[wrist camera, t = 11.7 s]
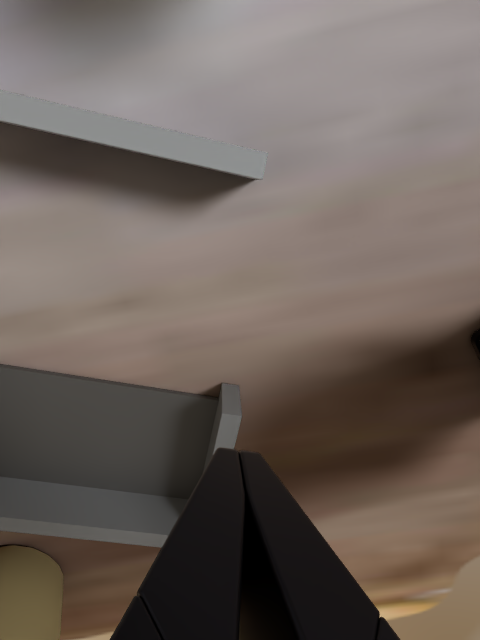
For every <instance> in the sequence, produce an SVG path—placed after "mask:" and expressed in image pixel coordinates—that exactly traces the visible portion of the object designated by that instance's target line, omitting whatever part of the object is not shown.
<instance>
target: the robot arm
mask: <svg viewBox="0 0 480 640" xmlns="http://www.w3.org/2000/svg"><path fill="white" fill-rule="evenodd" d="M471 342H472V345H473V347H474V349H475V351H476V353H477V355H478V358H479V360H480V329H479V330H477V331H476V332H475V333H473V335H472V337H471ZM379 616H380V614H379V611H378V610H377V608H376V607H375V606H374V604H373V603H372V602H371V600H370V599H369V598H368V596H367V595H366V594H365V592H364V591H363V590H362V588H361V587H360V586H359V584H358V583H357V582H356V580H355V579H354V578H353V576H352V575H351V574H350V572H349V571H348V570H347V568H346V567H345V566H344V564H343V563H342V562H341V560H340V559H339V558H338V556H337V555H336V554H335V552H334V551H333V550H332V548H331V547H330V546H329V544H328V543H327V542H326V540H325V539H324V538H323V536H322V535H321V534H320V532H319V531H318V530H317V528H316V527H315V526H314V524H313V523H312V522H311V520H310V519H309V518H308V516H307V515H306V514H305V512H304V511H303V510H302V509H301V507H300V506H299V505H298V503H297V502H296V501H295V499H294V498H293V497H292V495H291V494H290V493H289V491H288V490H287V489H286V487H285V486H284V485H283V483H282V482H281V481H280V479H279V478H278V477H277V475H276V474H275V473H274V471H273V470H272V469H271V467H270V466H269V465H268V463H267V462H266V461H265V459H264V458H263V457H262V455H261V454H260V453H258V452H252V451H245V450H241V451H239V452H238V451H237V450H236V449H230V448H223V447H219V448H217V449H216V451H215V452H214V454H213V456H212V458H211V460H210V462H209V463H208V465H207V467H206V469H205V471H204V472H203V474H202V476H201V478H200V480H199V481H198V483H197V485H196V487H195V489H194V490H193V492H192V494H191V496H190V498H189V499H188V501H187V503H186V505H185V507H184V508H183V510H182V512H181V514H180V516H179V517H178V519H177V521H176V523H175V525H174V526H173V528H172V530H171V532H170V534H169V535H168V537H167V539H166V541H165V543H164V545H163V546H162V548H161V550H160V552H159V554H158V555H157V557H156V559H155V561H154V563H153V564H152V566H151V568H150V570H149V572H148V573H147V575H146V577H145V579H144V581H143V582H142V584H141V586H140V588H139V590H138V592H137V596H135V597H134V598H133V600H132V602H131V603H130V605H129V607H128V609H127V611H126V612H125V614H124V616H123V618H122V619H121V621H120V623H119V625H118V626H117V628H116V630H115V631H114V633H113V635H112V636H111V638H110V640H400V638H399V637H398V636H397V634H396V633H395V632H394V631H393V629H392V628H391V627H390V625H389V624H388V623H387V621H386V620H385V619H384V618H383V617H380V618H379Z"/></svg>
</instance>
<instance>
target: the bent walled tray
mask: <svg viewBox="0 0 480 640" xmlns="http://www.w3.org/2000/svg"><path fill="white" fill-rule="evenodd" d="M0 122H3V123H7V124H11V125H16V126H20V127H25V128H29V129H34V130H38V131H42V132H47V133H51V134H56V135H60V136H65V137H69V138H73V139H78V140H82V141H87V142H91V143H96V144H100V145H104V146H109V147H113V148H118V149H122V150H126V151H131V152H135V153H140V154H144V155H149V156H153V157H157V158H162V159H166V160H171V161H175V162H180V163H184V164H188V165H193V166H197V167H202V168H206V169H211V170H215V171H219V172H224V173H228V174H233V175H237V176H242V177H246V178H250V179H255V180H263V175H264V170H265V166H266V161H267V156H268V153H267V152H263V151H258V150H254V149H250V148H246V147H241V146H237V145H233V144H229V143H224V142H220V141H216V140H212V139H207V138H203V137H199V136H195V135H191V134H186V133H182V132H178V131H174V130H169V129H165V128H161V127H157V126H152V125H148V124H144V123H140V122H135V121H131V120H127V119H123V118H118V117H114V116H110V115H106V114H101V113H97V112H93V111H89V110H84V109H80V108H76V107H72V106H67V105H63V104H59V103H55V102H50V101H46V100H42V99H38V98H33V97H29V96H25V95H21V94H16V93H12V92H8V91H4V90H0ZM241 418H242V411H241V400H240V389H239V385H232V384H226V383H222V385H221V390H220V394H219V398H217V397H211V396H204V395H198V394H191V393H185V392H178V391H172V390H165V389H159V388H152V387H146V386H139V385H133V384H126V383H120V382H113V381H107V380H100V379H94V378H88V377H81V376H75V375H68V374H62V373H55V372H49V371H42V370H36V369H29V368H23V367H16V366H10V365H3V364H0V531H9V532H19V533H28V534H38V535H47V536H57V537H66V538H76V539H85V540H95V541H104V542H114V543H123V544H133V545H142V546H152V547H161V548H162V546H163V545H164V543H165V541H166V539H167V537H168V535H169V534H170V532H171V530H172V528H173V526H174V525H175V523H176V521H177V519H178V517H179V516H180V514H181V512H182V510H183V508H184V507H185V505H186V503H187V501H188V499H189V498H190V496H191V494H192V492H193V490H194V489H195V487H196V485H197V483H198V481H199V480H200V478H201V476H202V474H203V472H204V471H205V469H206V467H207V465H208V463H209V462H210V460H211V458H212V456H213V454H214V452H215V451H216V449H217V448H219V447H223V448H230V449H234V446H235V442H236V438H237V434H238V430H239V426H240V422H241Z"/></svg>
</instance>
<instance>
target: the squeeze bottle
mask: <svg viewBox="0 0 480 640" xmlns="http://www.w3.org/2000/svg"><path fill="white" fill-rule="evenodd" d="M63 581H64V576H63V574H62V571H61V569H60V567H59V565H58V564H57V563H56V562H55V561H54V560H53V559H52V558H51V557H50V556H48V555H47V554H45V553H42V552H40V551H38V550H36V549H33V548H30V547H23V546H16V545H11V546H4V547H0V640H59V638H60V633H61V616H62V598H63Z"/></svg>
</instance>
